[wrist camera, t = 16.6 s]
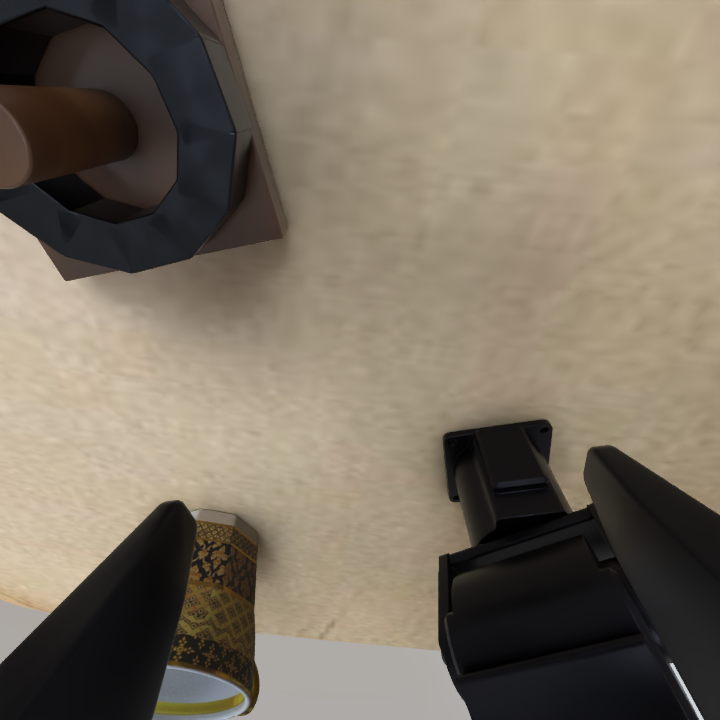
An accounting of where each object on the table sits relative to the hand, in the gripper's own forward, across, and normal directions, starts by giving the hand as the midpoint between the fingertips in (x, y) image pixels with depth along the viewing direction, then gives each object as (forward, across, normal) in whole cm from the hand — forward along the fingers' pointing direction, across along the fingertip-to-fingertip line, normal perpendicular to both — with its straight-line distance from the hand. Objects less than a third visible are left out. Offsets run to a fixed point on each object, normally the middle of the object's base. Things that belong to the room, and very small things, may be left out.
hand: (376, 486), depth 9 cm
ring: (+10, +8, -8) cm, 15 cm away
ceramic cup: (+12, +15, +20) cm, 28 cm away
